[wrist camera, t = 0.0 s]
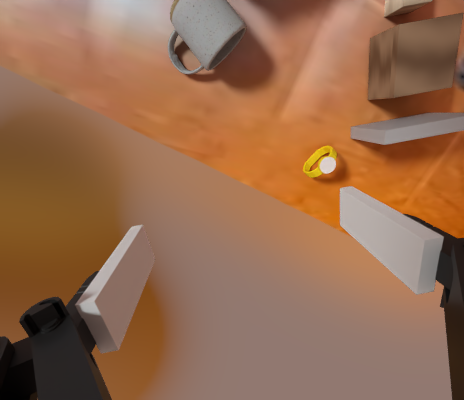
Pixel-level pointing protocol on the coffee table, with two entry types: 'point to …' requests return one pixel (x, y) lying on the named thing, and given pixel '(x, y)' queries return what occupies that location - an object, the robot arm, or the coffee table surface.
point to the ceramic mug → (205, 31)
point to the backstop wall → (409, 128)
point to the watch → (321, 162)
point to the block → (414, 57)
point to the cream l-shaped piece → (402, 6)
